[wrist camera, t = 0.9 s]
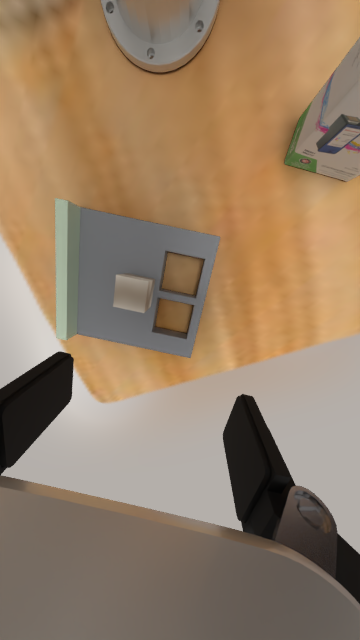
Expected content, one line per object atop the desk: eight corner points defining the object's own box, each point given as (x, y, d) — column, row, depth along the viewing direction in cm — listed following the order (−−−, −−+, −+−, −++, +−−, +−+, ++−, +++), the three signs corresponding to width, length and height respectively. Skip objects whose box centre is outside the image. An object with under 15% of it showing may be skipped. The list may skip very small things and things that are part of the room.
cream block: (127, 273, 25) (116, 274, 22) (155, 279, 25) (148, 281, 21) (124, 300, 27) (113, 306, 23) (150, 306, 26) (144, 313, 23)
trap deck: (76, 209, 26) (50, 196, 21) (217, 239, 26) (223, 233, 21) (73, 326, 31) (52, 337, 26) (190, 350, 31) (190, 366, 26)
